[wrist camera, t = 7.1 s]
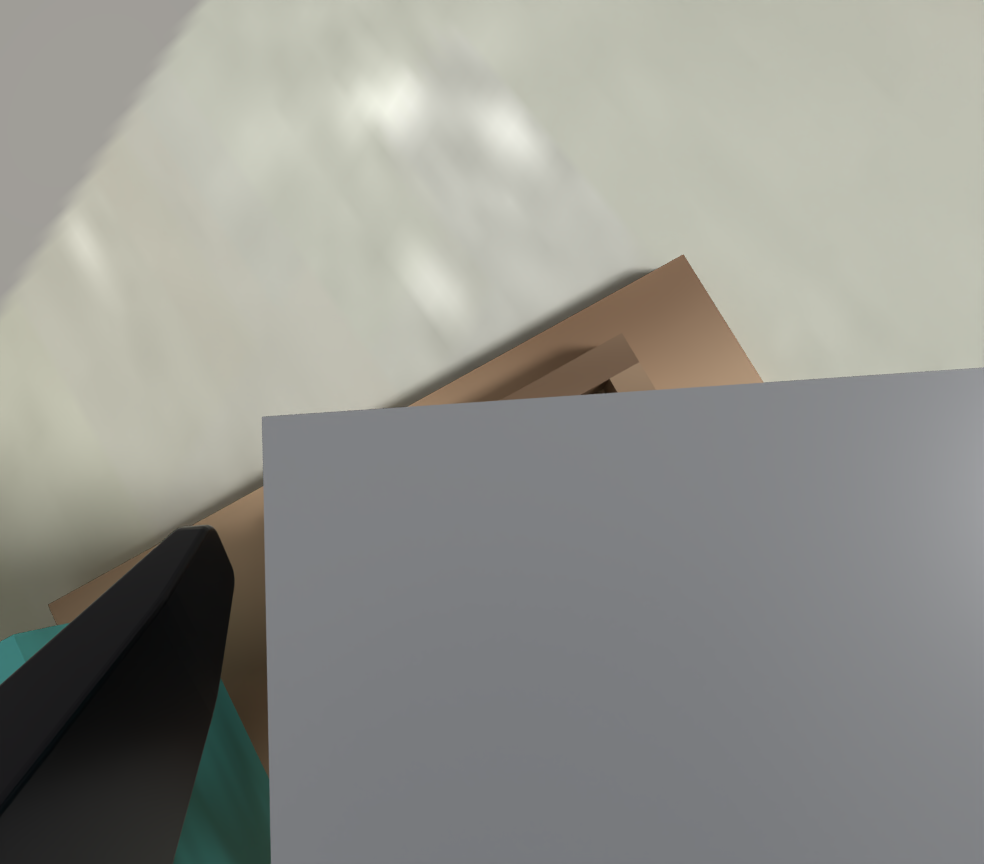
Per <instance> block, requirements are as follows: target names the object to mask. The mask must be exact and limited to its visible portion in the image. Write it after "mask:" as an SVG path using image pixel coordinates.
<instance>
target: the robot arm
mask: <svg viewBox="0 0 984 864" xmlns="http://www.w3.org/2000/svg"><path fill="white" fill-rule="evenodd" d="M234 585H235V578H234V571H233V568H232V565H231V563H230V560H229V558H228V556H227V553H226V551H225V549H224V546H223V544H222V542H221V539H220V537H219V535H218V533H217V531H216V529H215V528H214V527H213V526H210V525H195V526H183V527H179V528H177V529H176V530H175V531H173V532H172V533H171V534H170V535H169V536H167V537H166V538H165V539H164V540H163V541H162V542H161V543H160V544H158V545H157V546H156V547H155V548H154V549H153V550H152V551H151V552H149V553H148V554H147V555H146V556H145V557H144V558H143V559H142V560H140V561H139V562H138V563H137V564H136V565H135V566H134V567H132V568H131V569H130V570H129V571H128V572H127V573H126V574H125V575H123V576H122V577H121V578H120V579H119V580H118V581H117V582H116V583H114V584H113V585H112V586H111V587H110V588H109V589H108V590H107V591H105V592H104V593H103V594H102V595H101V596H100V597H99V598H97V599H96V600H95V601H94V602H93V603H92V604H91V605H90V606H88V607H87V608H86V609H85V610H84V611H83V612H82V613H81V614H79V615H78V616H77V617H76V618H75V619H74V620H73V621H71V622H70V623H69V624H68V625H67V626H66V627H65V628H64V629H62V630H61V631H60V632H59V633H58V634H57V635H56V636H55V637H53V638H52V639H51V640H50V641H49V642H48V643H47V644H46V645H44V646H43V647H42V648H41V649H40V650H39V651H38V652H36V653H35V654H34V655H33V656H32V657H31V658H30V659H29V660H27V661H26V662H25V663H24V664H23V665H22V666H21V667H20V668H18V669H17V670H16V671H15V672H14V673H13V674H12V675H11V676H9V677H8V678H7V679H6V680H5V681H4V682H3V683H1V684H0V864H173V861H174V857H175V854H176V850H177V846H178V843H179V839H180V835H181V831H182V828H183V824H184V820H185V817H186V813H187V809H188V806H189V802H190V798H191V794H192V791H193V787H194V783H195V780H196V776H197V772H198V769H199V765H200V761H201V757H202V754H203V750H204V746H205V743H206V739H207V735H208V732H209V728H210V724H211V721H212V717H213V713H214V709H215V705H216V700H217V696H218V690H219V685H220V679H221V672H222V666H223V659H224V653H225V646H226V639H227V633H228V626H229V619H230V613H231V606H232V599H233V593H234Z"/></svg>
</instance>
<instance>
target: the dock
mask: <svg viewBox="0 0 984 864" xmlns="http://www.w3.org/2000/svg"><path fill="white" fill-rule="evenodd" d="M750 383H764V382H763V381H762V379H761V378H760V376H759V374H758V373H757V371H756V370H755V368H754V366H753V365H752V363H751V362H750V360H749V358H748V357H747V355H746V354H745V352H744V350H743V349H742V347H741V346H740V344H739V343H738V341H737V339H736V338H735V336H734V335H733V333H732V331H731V330H730V328H729V327H728V325H727V323H726V322H725V320H724V319H723V317H722V315H721V314H720V312H719V311H718V309H717V307H716V306H715V304H714V303H713V301H712V299H711V298H710V296H709V295H708V293H707V291H706V290H705V288H704V287H703V285H702V283H701V282H700V280H699V279H698V277H697V275H696V274H695V272H694V271H693V269H692V267H691V266H690V264H689V263H688V261H687V259H686V258H685V256H684V255H681V256H680V257H678V258H676V259H674V260H672V261H670V262H669V263H667V264H665V265H663V266H661V267H660V268H658V269H656V270H654V271H652V272H651V273H649V274H647V275H645V276H643V277H641V278H640V279H638V280H636V281H634V282H632V283H631V284H629V285H627V286H625V287H623V288H622V289H620V290H618V291H616V292H614V293H612V294H611V295H609V296H607V297H605V298H603V299H602V300H600V301H598V302H596V303H594V304H592V305H591V306H589V307H587V308H585V309H583V310H582V311H580V312H578V313H576V314H574V315H573V316H571V317H569V318H567V319H565V320H563V321H562V322H560V323H558V324H556V325H554V326H553V327H551V328H549V329H547V330H545V331H544V332H542V333H540V334H538V335H536V336H534V337H533V338H531V339H529V340H527V341H525V342H524V343H522V344H520V345H518V346H516V347H515V348H513V349H511V350H509V351H507V352H505V353H504V354H502V355H500V356H498V357H496V358H495V359H493V360H491V361H489V362H487V363H486V364H484V365H482V366H480V367H478V368H476V369H475V370H473V371H471V372H469V373H467V374H466V375H464V376H462V377H460V378H458V379H456V380H455V381H453V382H451V383H449V384H447V385H446V386H444V387H442V388H440V389H438V390H437V391H435V392H433V393H431V394H429V395H427V396H426V397H424V398H422V399H420V400H418V401H417V402H415V403H413V404H411V405H409V406H408V407H412V406H427V405H442V404H456V403H471V402H486V401H500V400H515V399H530V398H545V397H559V396H574V395H589V394H603V393H618V392H633V391H647V390H662V389H677V388H691V387H706V386H721V385H735V384H750ZM195 525H210V526H213V527H214V528H215V529H216V531H217V533H218V535H219V537H220V539H221V542H222V544H223V546H224V549H225V551H226V553H227V556H228V558H229V560H230V563H231V565H232V568H233V571H234V578H235V585H234V593H233V599H232V606H231V613H230V619H229V626H228V633H227V639H226V646H225V653H224V659H223V666H222V672H221V679H220V685H219V690H218V696H217V700H216V705H215V709H214V713H213V717H212V721H211V724H210V728H209V732H208V735H207V739H206V743H205V746H204V750H203V754H202V757H201V761H200V765H199V769H198V772H197V776H196V780H195V783H194V787H193V791H192V794H191V798H190V802H189V806H188V809H187V813H186V817H185V820H184V824H183V828H182V831H181V835H180V839H179V843H178V846H177V850H176V854H175V857H174V861H173V864H271V839H270V789H269V740H268V690H267V641H266V591H265V541H264V492H263V486H262V487H261V488H259V489H257V490H255V491H253V492H252V493H250V494H248V495H246V496H244V497H243V498H241V499H239V500H237V501H235V502H233V503H232V504H230V505H228V506H226V507H224V508H223V509H221V510H219V511H217V512H215V513H214V514H212V515H210V516H208V517H206V518H204V519H203V520H201V521H199V522H197V523H195V524H194V525H192V526H195ZM159 544H160V543H159ZM157 545H158V544H157ZM157 545H155V546H154V547H152V548H150V549H148V550H146V551H145V552H143V553H141V554H139V555H137V556H136V557H134V558H132V559H130V560H128V561H126V562H125V563H123V564H121V565H119V566H117V567H116V568H114V569H112V570H110V571H108V572H107V573H105V574H103V575H101V576H99V577H97V578H96V579H94V580H92V581H90V582H88V583H87V584H85V585H83V586H81V587H79V588H78V589H76V590H74V591H72V592H70V593H68V594H67V595H65V596H63V597H61V598H59V599H58V600H56V601H54V602H52V603H50V604H48V606H49V608H50V611H51V613H52V615H53V617H54V619H55V622H56V624H57V626H52V627H47V628H42V629H38V630H33V631H28V632H23V633H18V634H14V635H12V636H10V637H8V638H6V639H4V640H3V641H1V642H0V684H1V683H3V682H4V681H5V680H6V679H7V678H8V677H9V676H11V675H12V674H13V673H14V672H15V671H16V670H17V669H18V668H20V667H21V666H22V665H23V664H24V663H25V662H26V661H27V660H29V659H30V658H31V657H32V656H33V655H34V654H35V653H36V652H38V651H39V650H40V649H41V648H42V647H43V646H44V645H46V644H47V643H48V642H49V641H50V640H51V639H52V638H53V637H55V636H56V635H57V634H58V633H59V632H60V631H61V630H62V629H64V628H65V627H66V626H67V625H68V624H69V623H70V622H71V621H73V620H74V619H75V618H76V617H77V616H78V615H79V614H81V613H82V612H83V611H84V610H85V609H86V608H87V607H88V606H90V605H91V604H92V603H93V602H94V601H95V600H96V599H97V598H99V597H100V596H101V595H102V594H103V593H104V592H105V591H107V590H108V589H109V588H110V587H111V586H112V585H113V584H114V583H116V582H117V581H118V580H119V579H120V578H121V577H122V576H123V575H125V574H126V573H127V572H128V571H129V570H130V569H131V568H132V567H134V566H135V565H136V564H137V563H138V562H139V561H140V560H142V559H143V558H144V557H145V556H146V555H147V554H148V553H149V552H151V551H152V550H153V549H154V548H155V547H156V546H157Z"/></svg>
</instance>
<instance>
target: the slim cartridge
mask: <svg viewBox="0 0 984 864" xmlns="http://www.w3.org/2000/svg"><path fill="white" fill-rule="evenodd" d="M262 442H263V492H264V541H265V591H266V641H267V690H268V740H269V789H270V839H271V864H984V368H970V369H955V370H941V371H926V372H911V373H897V374H882V375H867V376H853V377H838V378H823V379H809V380H794V381H779V382H765V383H750V384H735V385H721V386H706V387H691V388H677V389H662V390H647V391H633V392H618V393H603V394H589V395H574V396H559V397H545V398H530V399H515V400H500V401H486V402H471V403H456V404H442V405H427V406H412V407H398V408H383V409H368V410H354V411H339V412H324V413H310V414H295V415H280V416H266V417H262Z"/></svg>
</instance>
